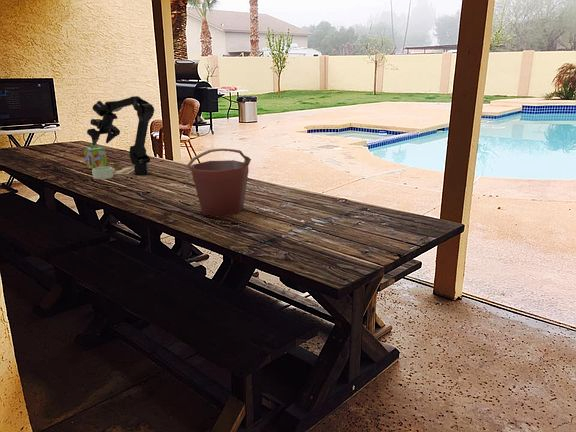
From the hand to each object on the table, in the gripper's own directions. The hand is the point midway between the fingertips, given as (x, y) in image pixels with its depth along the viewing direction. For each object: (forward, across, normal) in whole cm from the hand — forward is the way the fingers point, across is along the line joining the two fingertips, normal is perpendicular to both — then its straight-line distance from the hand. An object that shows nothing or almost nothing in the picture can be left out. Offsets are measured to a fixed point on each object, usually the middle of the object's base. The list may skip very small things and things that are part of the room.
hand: (100, 144), depth 277 cm
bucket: (-49, +38, +105) cm, 122 cm away
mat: (+5, +1, +19) cm, 20 cm away
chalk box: (+18, -3, 0) cm, 18 cm away
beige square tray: (+5, +1, +19) cm, 20 cm away
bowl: (+3, +15, +23) cm, 28 cm away
